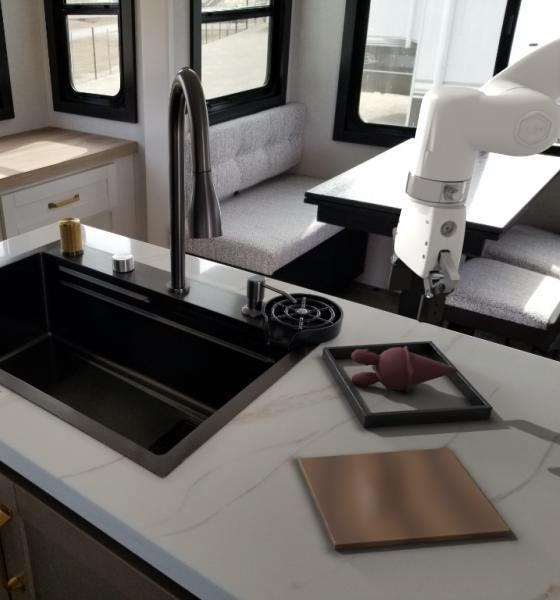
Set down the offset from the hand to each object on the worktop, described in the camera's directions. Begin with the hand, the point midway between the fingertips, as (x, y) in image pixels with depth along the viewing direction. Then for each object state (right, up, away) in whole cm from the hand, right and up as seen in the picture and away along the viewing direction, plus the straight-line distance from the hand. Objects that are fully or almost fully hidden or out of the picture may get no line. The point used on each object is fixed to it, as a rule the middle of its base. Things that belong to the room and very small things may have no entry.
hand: (412, 304), depth 90 cm
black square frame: (+1, -13, +6) cm, 14 cm away
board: (-7, -23, -14) cm, 28 cm away
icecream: (+1, -13, +7) cm, 14 cm away
